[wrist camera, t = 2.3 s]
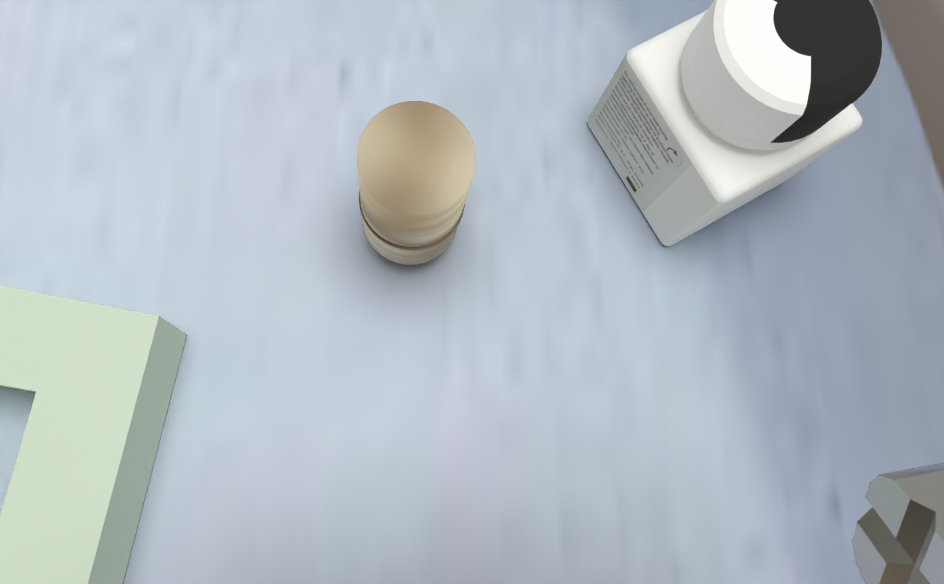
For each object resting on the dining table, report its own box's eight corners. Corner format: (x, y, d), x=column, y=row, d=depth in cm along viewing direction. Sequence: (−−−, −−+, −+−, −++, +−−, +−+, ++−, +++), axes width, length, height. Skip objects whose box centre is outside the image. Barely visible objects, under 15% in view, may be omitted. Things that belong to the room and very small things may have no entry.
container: (705, 57, 45) (833, -105, 32) (786, 181, 44) (950, 64, 31) (583, 121, 43) (665, -21, 31) (663, 250, 42) (782, 158, 30)
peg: (462, 196, 42) (486, 113, 32) (445, 283, 41) (465, 226, 31) (372, 177, 42) (368, 88, 32) (353, 265, 41) (343, 201, 31)
